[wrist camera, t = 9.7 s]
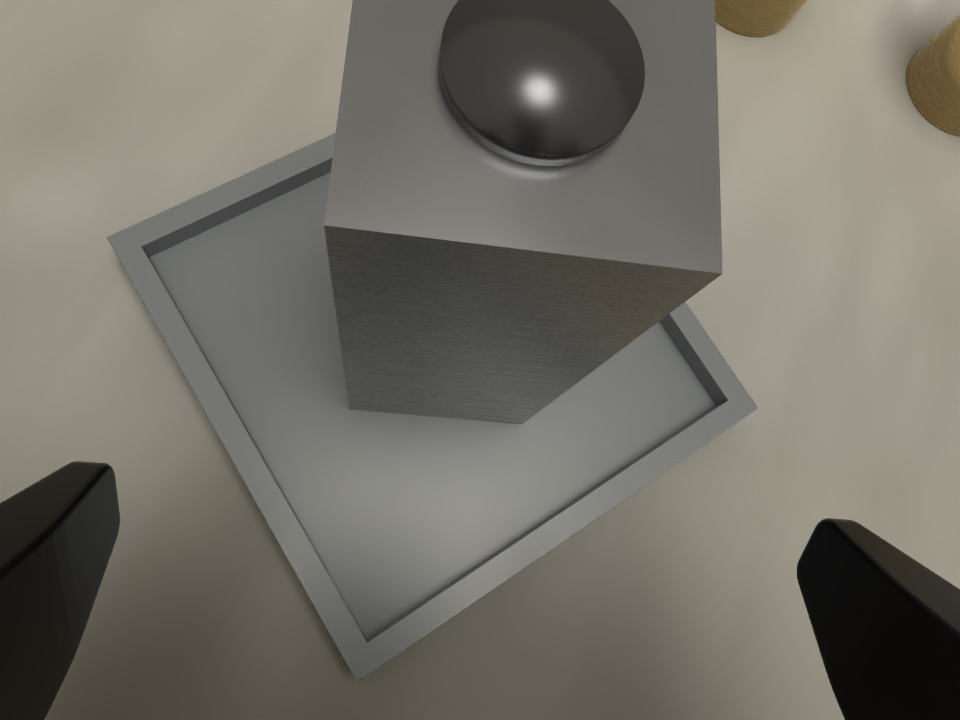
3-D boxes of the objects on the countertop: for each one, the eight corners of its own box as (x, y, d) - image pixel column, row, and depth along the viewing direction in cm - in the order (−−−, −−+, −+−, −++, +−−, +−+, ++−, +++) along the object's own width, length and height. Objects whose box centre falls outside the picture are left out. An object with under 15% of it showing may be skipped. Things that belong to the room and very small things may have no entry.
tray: (357, 672, 17) (357, 682, 16) (122, 256, 19) (106, 237, 18) (735, 415, 20) (757, 407, 19) (506, 77, 22) (514, 51, 21)
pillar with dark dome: (521, 424, 19) (735, 264, 8) (348, 409, 18) (322, 212, 7) (529, 265, 20) (724, -67, 9) (367, 245, 19) (366, -134, 8)
